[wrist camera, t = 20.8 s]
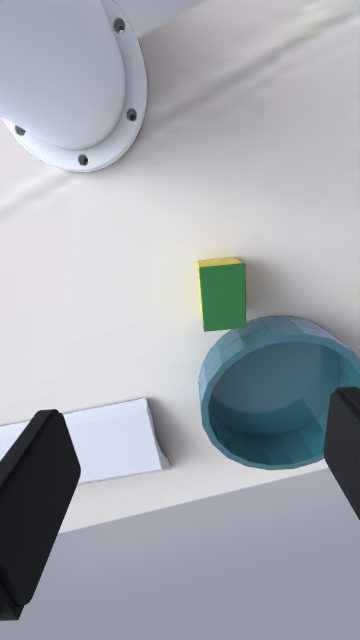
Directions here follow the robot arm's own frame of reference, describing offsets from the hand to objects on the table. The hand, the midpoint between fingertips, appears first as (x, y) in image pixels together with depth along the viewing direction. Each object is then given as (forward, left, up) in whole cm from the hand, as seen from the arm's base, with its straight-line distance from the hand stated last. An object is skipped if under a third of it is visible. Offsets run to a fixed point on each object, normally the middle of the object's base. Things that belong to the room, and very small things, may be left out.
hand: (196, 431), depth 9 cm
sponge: (0, +3, -20) cm, 21 cm away
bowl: (+13, +9, -20) cm, 26 cm away
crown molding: (+22, -20, -20) cm, 36 cm away
